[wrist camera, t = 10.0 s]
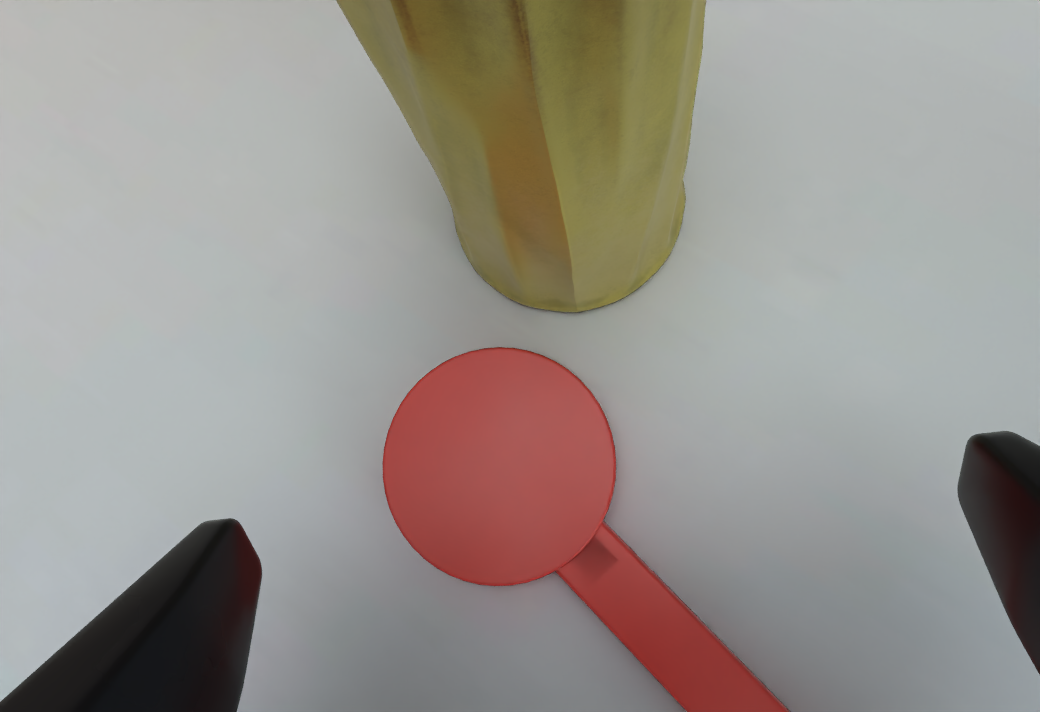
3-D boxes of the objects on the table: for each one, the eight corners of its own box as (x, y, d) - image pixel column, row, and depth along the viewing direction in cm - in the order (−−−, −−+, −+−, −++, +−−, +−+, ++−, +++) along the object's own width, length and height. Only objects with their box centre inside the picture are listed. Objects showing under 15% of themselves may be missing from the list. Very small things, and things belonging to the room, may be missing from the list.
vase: (483, 340, 19) (144, -39, 6) (435, 133, 21) (61, -598, 7) (711, 280, 19) (970, -302, 5) (648, 71, 20) (715, -856, 6)
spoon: (917, 1089, 15) (946, 1148, 14) (355, 464, 19) (335, 462, 18) (1100, 892, 16) (1146, 931, 14) (507, 313, 20) (499, 300, 18)
